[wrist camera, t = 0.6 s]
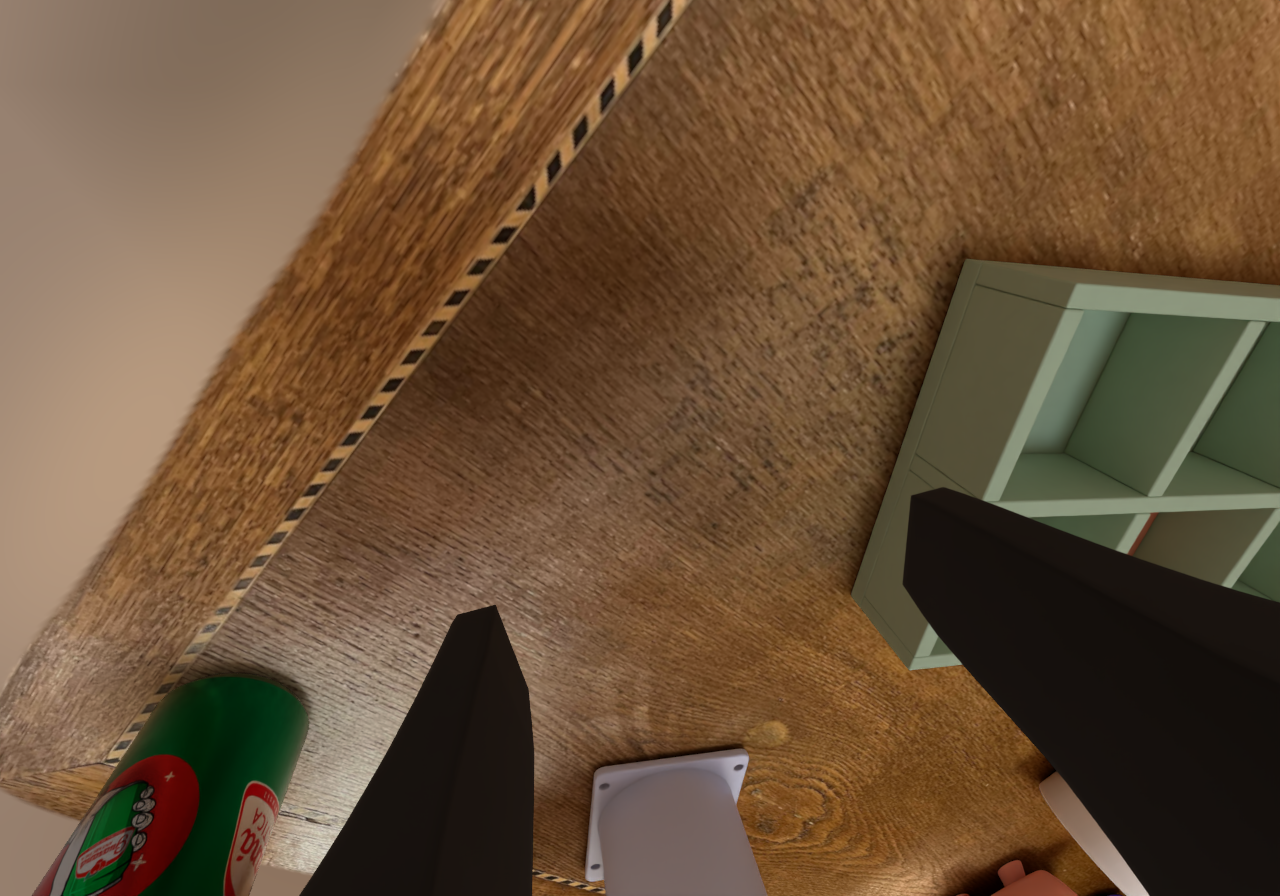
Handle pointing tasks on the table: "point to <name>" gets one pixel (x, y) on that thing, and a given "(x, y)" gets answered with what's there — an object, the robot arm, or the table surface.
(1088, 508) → the tray
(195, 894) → the soda can
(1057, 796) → the mug
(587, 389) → the table surface
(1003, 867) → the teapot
